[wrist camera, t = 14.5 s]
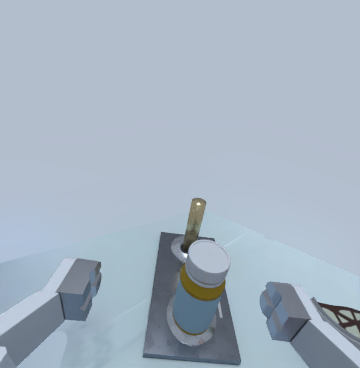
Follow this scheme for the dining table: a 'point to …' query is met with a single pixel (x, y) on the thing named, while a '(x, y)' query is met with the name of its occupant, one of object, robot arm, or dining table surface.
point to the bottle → (200, 286)
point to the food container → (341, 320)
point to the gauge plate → (164, 299)
